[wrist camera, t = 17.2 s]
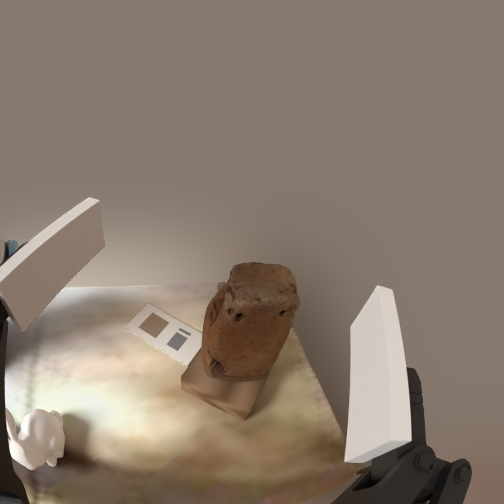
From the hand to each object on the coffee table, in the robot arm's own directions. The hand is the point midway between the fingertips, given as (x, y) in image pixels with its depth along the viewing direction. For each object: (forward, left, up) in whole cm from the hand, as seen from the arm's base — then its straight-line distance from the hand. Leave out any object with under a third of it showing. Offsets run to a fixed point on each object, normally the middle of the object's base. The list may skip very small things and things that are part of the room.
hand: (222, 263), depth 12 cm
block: (-1, +15, -33) cm, 36 cm away
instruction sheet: (-16, +17, -38) cm, 45 cm away
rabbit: (-19, -17, -38) cm, 46 cm away
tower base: (-1, +15, -38) cm, 41 cm away
